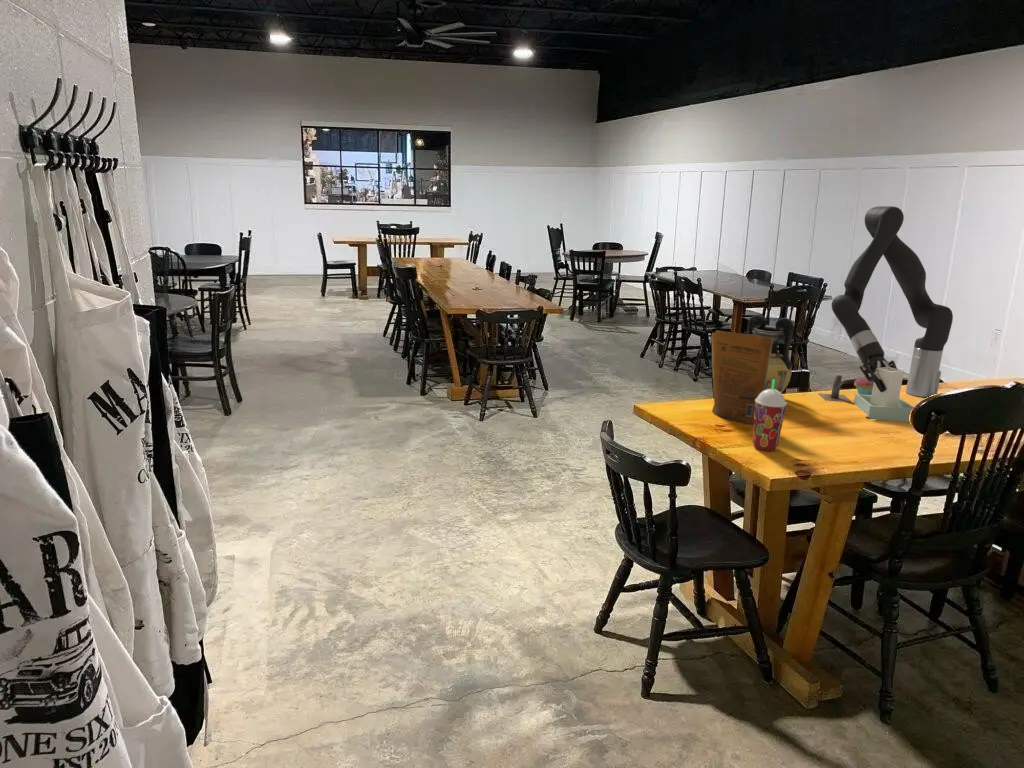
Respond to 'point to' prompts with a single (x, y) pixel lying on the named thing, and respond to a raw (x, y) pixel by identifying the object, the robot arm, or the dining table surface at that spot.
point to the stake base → (828, 398)
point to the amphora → (775, 349)
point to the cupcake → (864, 386)
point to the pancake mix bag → (738, 373)
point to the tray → (883, 409)
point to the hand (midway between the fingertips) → (891, 390)
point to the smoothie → (768, 419)
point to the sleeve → (888, 387)
